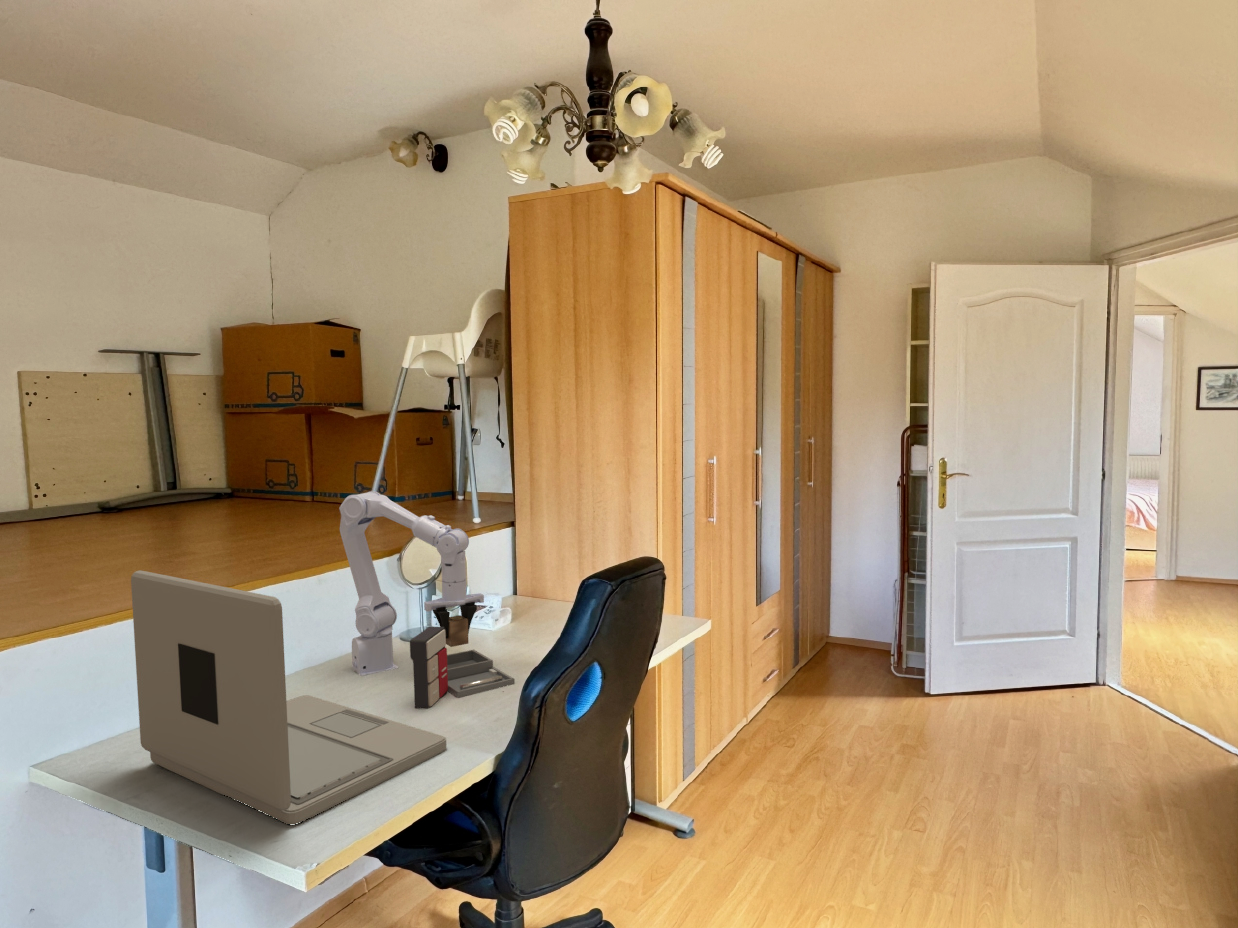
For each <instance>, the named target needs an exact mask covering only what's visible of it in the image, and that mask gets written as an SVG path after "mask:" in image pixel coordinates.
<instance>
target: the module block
mask: <svg viewBox="0 0 1238 928" xmlns="http://www.w3.org/2000/svg"><path fill="white" fill-rule="evenodd" d="M448 627H449V638H447V639H446V645H447V646H449V647H450V648H452V647H457V646H459V647H460V646H462V645H468V644H469V634H468V619H467V618H465V617H463V616H461V615H453V616H449V624H448Z"/></svg>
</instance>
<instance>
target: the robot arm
mask: <svg viewBox="0 0 1238 928" xmlns="http://www.w3.org/2000/svg"><path fill="white" fill-rule="evenodd" d="M338 509H339V513H340V524H339V533H340V536H341V541H342V545H343V547H344V552H345V554H346V558H347V561H348V564H349V568H350V571H351V575H352V579H353V582H354V586H355V589H356V592H357V593H356V594H357V596H358V601H357V603H356V606H355V608H354V611H355V628H356V630H357V632H358V633H359V634H360V635H359V636H357V637H354V638H352V640H351V658H352V659H351V660H352V661H351V662H352V665H351V670H354V671H355V672H356V673H357V674H358V675H359V676H367V675H373V674H377V673H382V672H387V671H391V670H392V671H394V670H396V669H397V670H398V669H399V668H400V667H399V666H398V665H397V664H395V663H394V650H393V649H394V648H393V647H394V645H393V630H394V629H393V626H394V624H395V623H396V622H397V617H398V613H397V610H396V609H395V607H394V606H393V604H392V603H391V601H390V599H389V598H390V597H389V596H388V595H386V594H385V593H383V591H382V590H381V586H380V583H379V579H378V575H377V572H376V568H375V565H374V562H373V558H372V555H371V552H370V548H369V544H368V541H367V538H366V533H365V531H366V530H367V528H368V527H369V525H370V524H371V523H372V521H374V519H376V518H378V517H384V518H387V519H388V520H391V521H393V522H395V523H397V524H400V525H401V526H404V527H406V528H408V529H410V530H411V531H412V534H413V536H414V538H417V539H419V540H420V541H422V542H424V543H426V544H429V546H432V547H434V548H436V550H437V553H438V554H439V555H440V563H441V591H442V592H441V596H442V597H439V598H437V599H432V600H429V601H424V602H423V604H424V611H426V612H432V614H434V617H435V618H436V619H437V622H438V624H439V627H444V629H445V635H446V639H447V638H449V627H448V624H449V617H450V614H451V612H450V611H449V610H448V608H454V607H459V609H460V614H461V616H463V617H465V618H467V619H468V635H469V634H470V633H469V632H470V628H471V625H472V621H473V618H474V616H475V614H476V612H477V610H478V605H477V603H478V604H479V603H480V604H482V603H485V598H484V597H485V595H484V593H483V594H482V593H474V594H472V593H471V594H467V568H466V550H467V548H468V547H469V544H470V538H469V536H468V534H467V533H466V532H465V531H464V530H462V528H453V529H452V526H451V525H450V524H447V525H445V524H443V523H441V522H439V521H437V520H436V517H435V516H433V515H421V516H418V515H416V514H415V513H413V512H411V511H410V510H408V509H406V508H404V507H403V506H401V505H400V504H398V503H396V502H395V501H392V500H391V499H390V498H389V497H388V496H386V495H384V494H381V493H379V492H377V491H373V490H371V491H370V490H369V491H367V492H364V493H363V492H362V493H360V494H350V495H348V496H347V497H345V498H344V500H343V501H342V503H341V505H340V506H339V508H338Z"/></svg>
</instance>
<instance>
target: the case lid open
mask: <svg viewBox="0 0 1238 928" xmlns="http://www.w3.org/2000/svg"><path fill="white" fill-rule="evenodd" d="M497 676H502V681H499V682H494V683H490V684H486V685H481V686H477V687H473V688H468V689H464V690H460V685H461V684H466V683H470V682H475V681H479V680H483V679H488V678H492V677H497ZM515 684H516V683H515V678H514V677H512V676H510V675H509V674H507V673H505V672H503V671H501V670H500V669H498V668H496V667H495V666H493V667H492V669H489V672H485V673H481V674H476V675H472V676H467V677H463V678H458V679H454V680H449V681H448V691H447V692H448V693H450V694H451V695H452V696H454V697H455V698H457V699H460V698H464V697H467V696H473V695H476V694H480V693H483V692H488V691H492V690H495V689H500V688H503V686H504V687H507V685H508V686H511V685H515ZM499 687H500V688H499Z"/></svg>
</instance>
